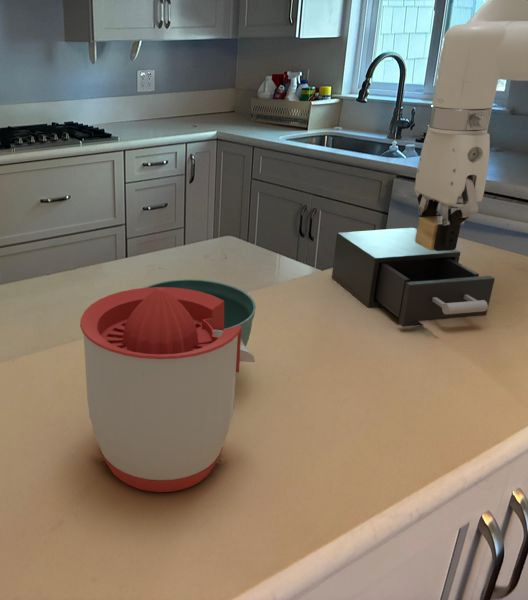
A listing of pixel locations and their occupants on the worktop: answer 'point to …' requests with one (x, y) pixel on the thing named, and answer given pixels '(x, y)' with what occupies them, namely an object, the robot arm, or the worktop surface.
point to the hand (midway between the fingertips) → (435, 243)
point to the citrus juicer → (161, 383)
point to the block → (427, 231)
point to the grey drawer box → (376, 258)
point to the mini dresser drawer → (431, 290)
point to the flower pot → (235, 300)
